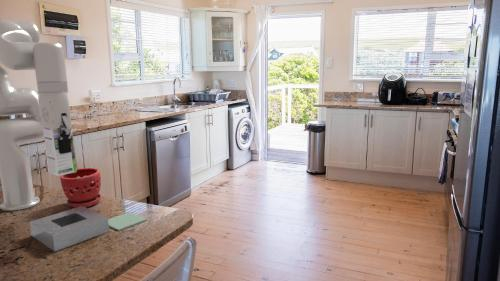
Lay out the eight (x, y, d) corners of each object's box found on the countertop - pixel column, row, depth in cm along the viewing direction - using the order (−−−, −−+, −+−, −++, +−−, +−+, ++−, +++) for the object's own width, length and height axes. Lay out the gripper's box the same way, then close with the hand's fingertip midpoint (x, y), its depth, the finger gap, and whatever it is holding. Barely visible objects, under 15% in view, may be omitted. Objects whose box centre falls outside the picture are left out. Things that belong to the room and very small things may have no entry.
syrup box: (57, 176, 107) (51, 126, 104) (48, 173, 111) (42, 123, 108) (77, 172, 112) (71, 123, 109) (68, 168, 115) (62, 121, 112)
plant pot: (78, 197, 148) (75, 167, 145) (109, 198, 145) (106, 168, 143) (55, 209, 135) (51, 176, 133) (89, 211, 133) (85, 178, 130)
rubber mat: (101, 222, 122) (101, 221, 122) (129, 213, 130) (129, 212, 130) (118, 231, 116) (118, 229, 116) (146, 220, 123) (146, 219, 123)
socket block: (31, 235, 114) (29, 221, 113) (83, 218, 126) (82, 206, 125) (55, 251, 104) (53, 236, 103) (109, 231, 116) (107, 217, 115)
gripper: (26, 87, 109) (34, 149, 113) (52, 90, 98) (60, 158, 102) (53, 86, 115) (60, 145, 118) (80, 88, 104) (87, 153, 107)
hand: (60, 150), depth 110 cm, fingers closed on syrup box, 5 cm apart
